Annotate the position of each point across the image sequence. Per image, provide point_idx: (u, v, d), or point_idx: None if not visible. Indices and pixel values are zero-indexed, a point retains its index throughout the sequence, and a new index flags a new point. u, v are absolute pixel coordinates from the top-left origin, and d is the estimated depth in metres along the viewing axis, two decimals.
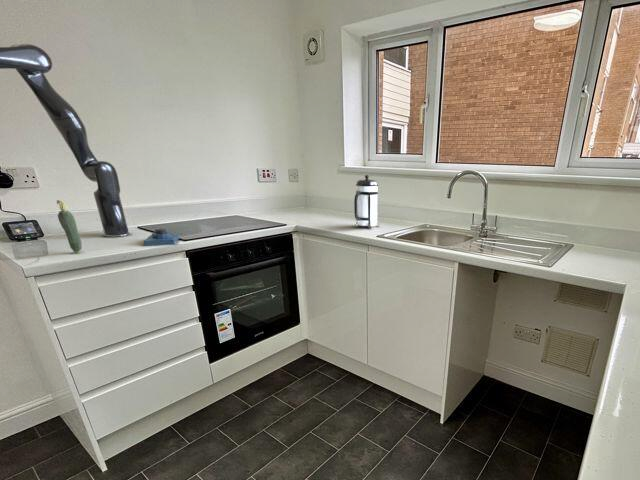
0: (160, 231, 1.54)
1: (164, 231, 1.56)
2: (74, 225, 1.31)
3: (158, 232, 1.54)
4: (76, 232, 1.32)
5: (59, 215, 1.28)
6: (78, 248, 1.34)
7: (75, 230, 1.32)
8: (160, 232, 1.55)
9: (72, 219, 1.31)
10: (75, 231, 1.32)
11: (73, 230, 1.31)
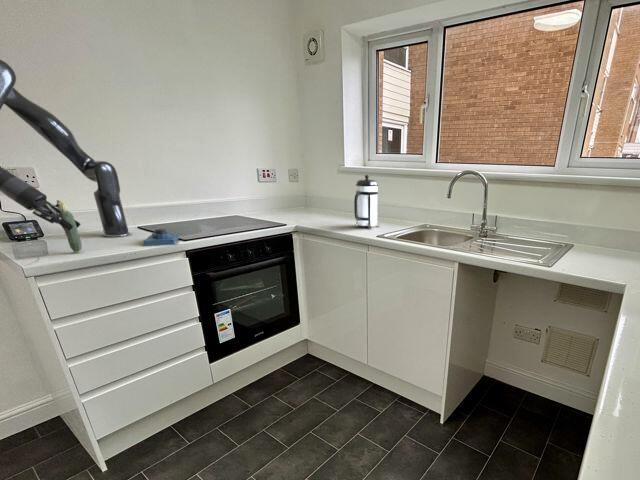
0: (160, 231, 1.54)
1: (164, 231, 1.56)
2: (74, 225, 1.31)
3: (158, 232, 1.54)
4: (76, 232, 1.32)
5: (59, 215, 1.28)
6: (78, 248, 1.34)
7: (75, 230, 1.32)
8: (160, 232, 1.55)
9: (72, 219, 1.31)
10: (75, 231, 1.32)
11: (73, 230, 1.31)
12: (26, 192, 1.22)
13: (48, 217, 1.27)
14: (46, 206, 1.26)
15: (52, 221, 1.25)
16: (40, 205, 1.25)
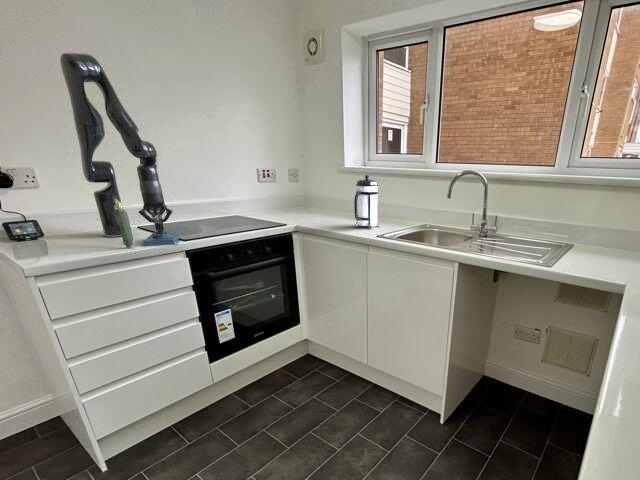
0: (160, 233, 1.55)
1: (164, 233, 1.56)
2: (128, 222, 1.41)
3: None
4: (129, 229, 1.42)
5: (115, 213, 1.38)
6: (130, 243, 1.44)
7: (129, 227, 1.41)
8: None
9: (126, 216, 1.40)
10: (129, 228, 1.41)
11: (127, 227, 1.41)
12: None
13: (160, 216, 1.53)
14: None
15: (166, 220, 1.55)
16: None
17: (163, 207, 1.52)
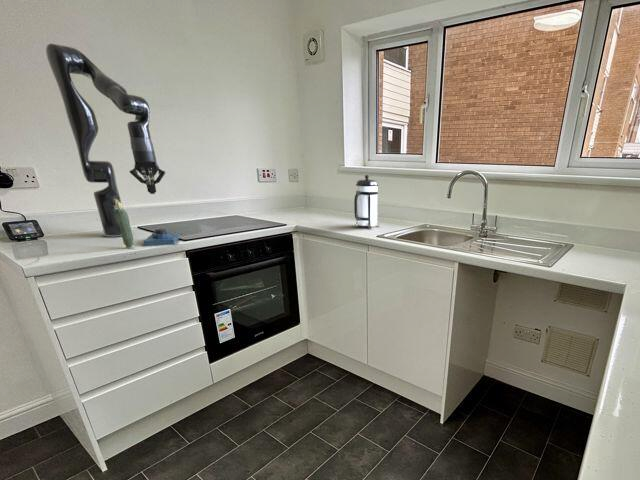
0: (160, 231, 1.54)
1: (164, 231, 1.56)
2: (128, 222, 1.41)
3: (158, 232, 1.54)
4: (129, 229, 1.42)
5: (115, 213, 1.38)
6: (130, 243, 1.44)
7: (129, 227, 1.41)
8: (160, 232, 1.55)
9: (126, 216, 1.40)
10: (129, 228, 1.41)
11: (127, 227, 1.41)
12: None
13: (152, 177, 1.47)
14: None
15: (158, 182, 1.49)
16: None
17: (155, 167, 1.47)
